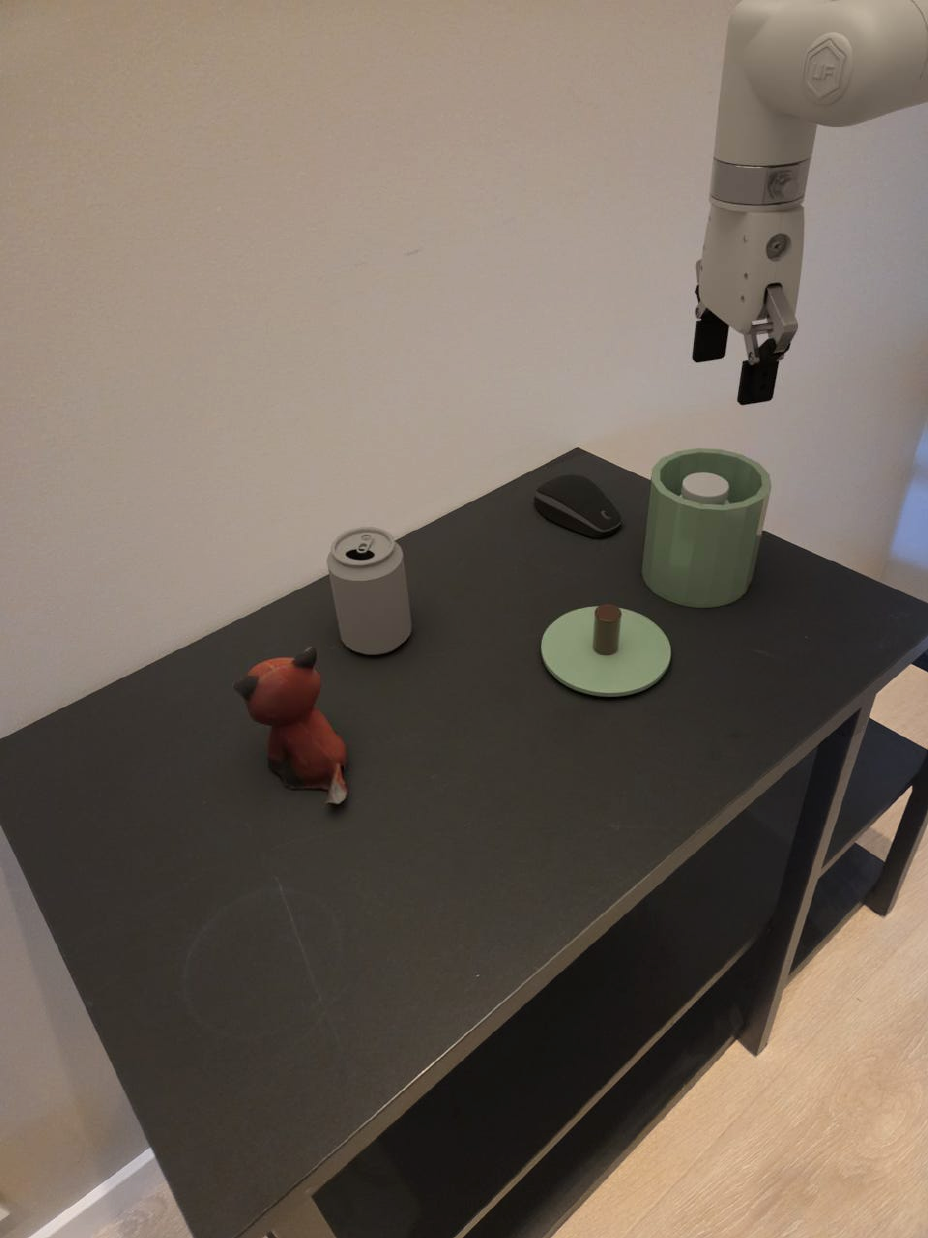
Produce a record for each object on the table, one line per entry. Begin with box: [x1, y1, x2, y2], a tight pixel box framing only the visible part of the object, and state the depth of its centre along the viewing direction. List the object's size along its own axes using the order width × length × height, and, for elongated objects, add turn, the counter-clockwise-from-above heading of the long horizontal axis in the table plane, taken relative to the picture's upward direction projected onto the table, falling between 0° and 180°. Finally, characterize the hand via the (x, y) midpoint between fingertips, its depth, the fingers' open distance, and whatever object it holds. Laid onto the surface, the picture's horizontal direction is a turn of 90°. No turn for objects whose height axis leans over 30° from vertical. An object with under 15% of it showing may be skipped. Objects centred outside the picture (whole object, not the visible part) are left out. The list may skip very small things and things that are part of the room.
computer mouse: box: [533, 473, 623, 539], centre depth 105 cm, size 7×12×4 cm, turn 41°
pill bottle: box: [679, 472, 730, 505], centre depth 93 cm, size 6×6×11 cm
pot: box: [641, 447, 773, 609], centre depth 93 cm, size 12×12×12 cm
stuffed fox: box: [231, 645, 349, 805], centre depth 74 cm, size 8×11×12 cm
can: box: [326, 526, 412, 656], centre depth 87 cm, size 8×8×12 cm
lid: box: [540, 603, 672, 698], centre depth 86 cm, size 13×13×6 cm
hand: (730, 379), depth 81 cm, fingers open, 9 cm apart
